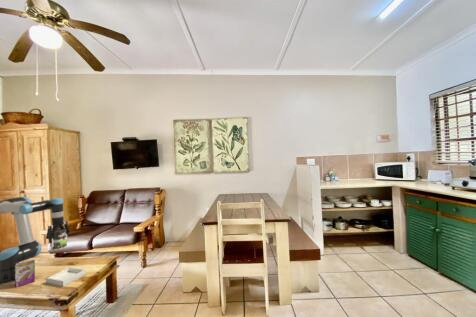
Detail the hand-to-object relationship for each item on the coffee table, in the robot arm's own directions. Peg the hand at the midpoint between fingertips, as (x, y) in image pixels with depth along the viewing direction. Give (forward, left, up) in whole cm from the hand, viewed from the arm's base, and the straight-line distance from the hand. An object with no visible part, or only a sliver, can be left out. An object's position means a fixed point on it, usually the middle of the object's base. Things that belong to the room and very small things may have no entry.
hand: (58, 244), depth 183 cm
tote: (+9, -1, -26) cm, 28 cm away
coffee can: (0, 0, -3) cm, 3 cm away
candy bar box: (-16, -14, -27) cm, 34 cm away
